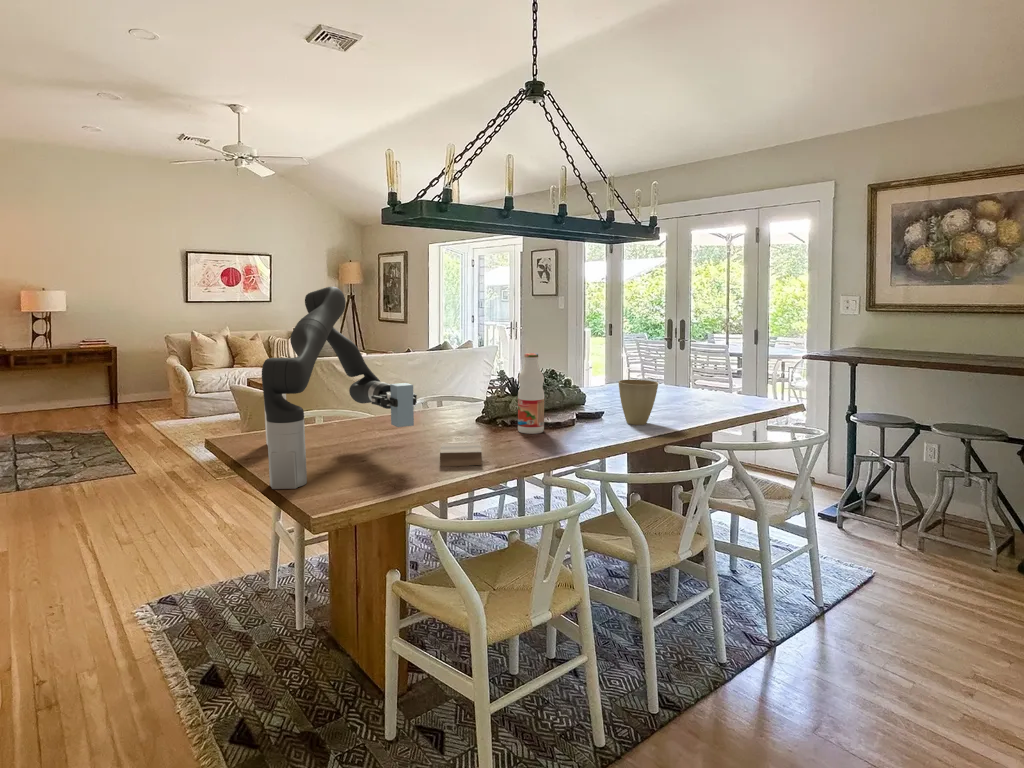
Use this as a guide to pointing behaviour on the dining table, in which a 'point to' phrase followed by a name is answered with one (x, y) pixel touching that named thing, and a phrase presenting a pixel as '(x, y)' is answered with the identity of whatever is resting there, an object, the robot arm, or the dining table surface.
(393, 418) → the blue block
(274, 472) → the robot arm
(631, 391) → the plant pot
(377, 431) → the dining table surface
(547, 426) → the dining table surface
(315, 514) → the dining table surface
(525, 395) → the fruit juice
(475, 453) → the walnut plinth
